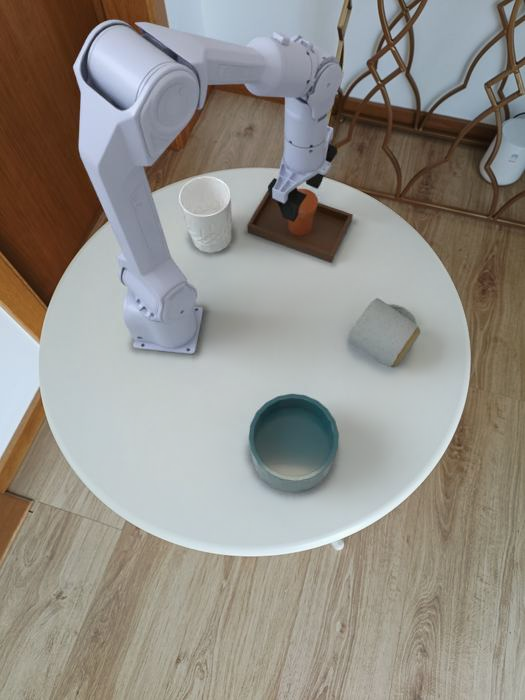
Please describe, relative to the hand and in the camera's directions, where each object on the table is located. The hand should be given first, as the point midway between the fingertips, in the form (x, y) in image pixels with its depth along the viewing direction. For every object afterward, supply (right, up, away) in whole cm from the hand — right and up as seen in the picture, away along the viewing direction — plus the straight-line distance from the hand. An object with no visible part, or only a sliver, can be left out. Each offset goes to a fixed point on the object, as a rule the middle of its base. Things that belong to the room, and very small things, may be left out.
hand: (301, 201), depth 85 cm
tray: (0, -3, +6) cm, 6 cm away
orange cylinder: (0, -3, +5) cm, 6 cm away
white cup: (-15, -5, +6) cm, 16 cm away
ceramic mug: (+12, -22, -3) cm, 25 cm away
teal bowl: (-2, -38, -11) cm, 39 cm away
